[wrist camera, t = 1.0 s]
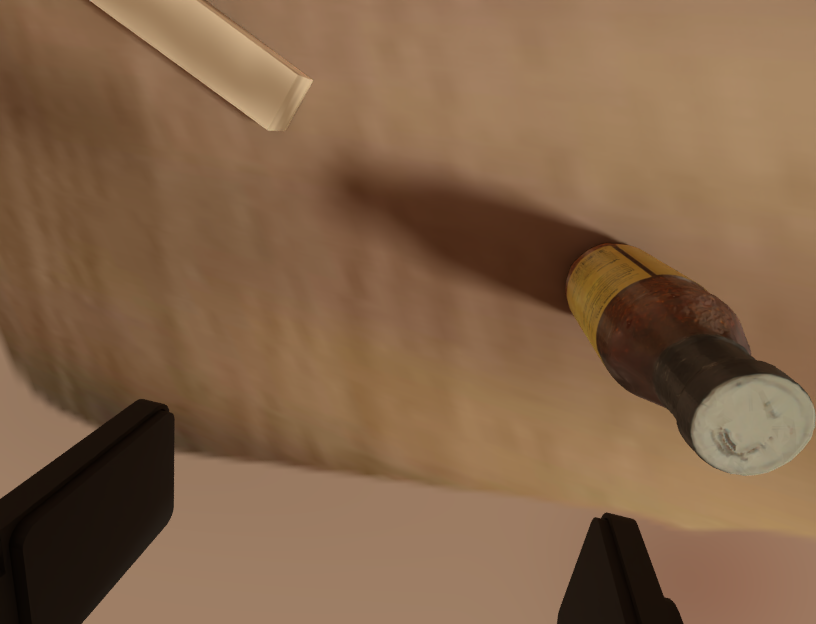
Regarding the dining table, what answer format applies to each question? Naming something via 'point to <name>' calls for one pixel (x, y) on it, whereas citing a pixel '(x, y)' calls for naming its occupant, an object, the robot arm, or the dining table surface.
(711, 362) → the sauce bottle
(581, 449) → the dining table surface
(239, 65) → the pale grey bar
